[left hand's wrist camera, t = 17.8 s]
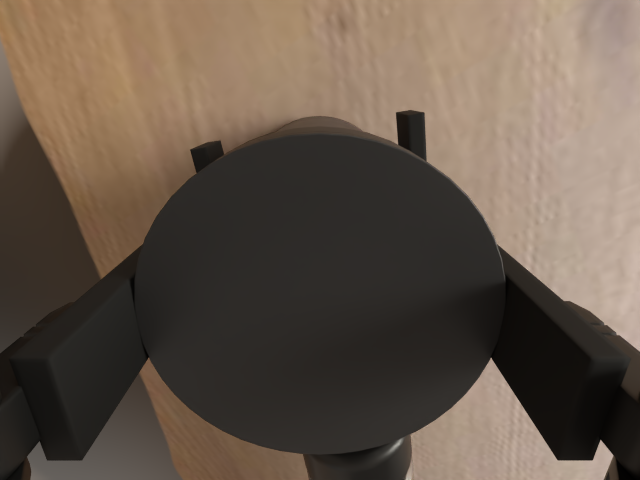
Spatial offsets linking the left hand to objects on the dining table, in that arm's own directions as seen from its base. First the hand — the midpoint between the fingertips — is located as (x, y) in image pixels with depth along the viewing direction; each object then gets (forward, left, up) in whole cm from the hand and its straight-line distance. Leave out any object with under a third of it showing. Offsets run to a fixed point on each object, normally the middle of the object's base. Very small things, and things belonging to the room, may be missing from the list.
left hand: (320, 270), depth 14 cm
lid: (0, 0, +3) cm, 3 cm away
